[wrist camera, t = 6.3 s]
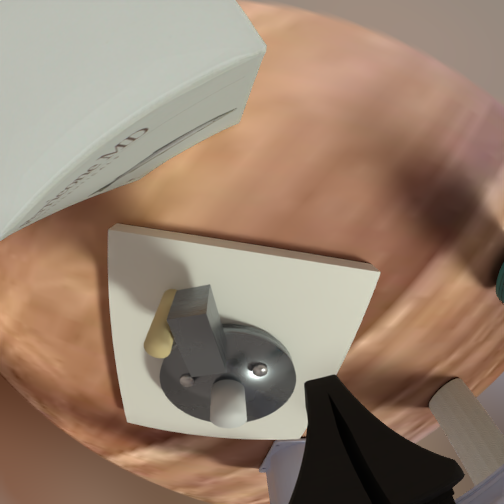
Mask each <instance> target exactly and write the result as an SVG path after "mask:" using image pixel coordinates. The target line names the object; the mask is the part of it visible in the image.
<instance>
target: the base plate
mask: <svg viewBox="0 0 504 504" xmlns="http://www.w3.org/2000/svg"><path fill="white" fill-rule="evenodd" d="M380 273H381V272H380V271H379V270H378V269H377V268H375V267H374V266H373V265H372V264H369V263H363V262H357V261H351V260H345V259H339V258H333V257H327V256H321V255H315V254H309V253H303V252H297V251H291V250H285V249H279V248H273V247H266V246H260V245H254V244H248V243H242V242H235V241H229V240H223V239H216V238H210V237H204V236H197V235H191V234H184V233H178V232H171V231H165V230H158V229H152V228H145V227H139V226H132V225H125V224H119V223H116V224H115V225H114V226H112V227H111V228H109V229H108V288H109V305H110V318H111V329H112V338H113V347H114V354H115V361H116V368H117V374H118V380H119V386H120V391H121V396H122V401H123V406H124V411H125V415H126V419H127V422H128V423H133V424H137V425H141V426H146V427H151V428H156V429H161V430H166V431H172V432H178V433H185V434H192V435H200V436H209V437H220V438H233V439H256V440H287V439H300V438H301V436H302V434H303V433H304V431H305V430H306V428H307V425H308V418H307V412H306V407H305V390H304V383H305V382H306V381H309V380H313V379H317V378H321V377H325V376H329V375H333V374H335V375H337V373H338V371H339V369H340V367H341V365H342V363H343V361H344V359H345V356H346V354H347V352H348V350H349V348H350V346H351V344H352V342H353V339H354V337H355V335H356V333H357V330H358V328H359V326H360V324H361V321H362V319H363V317H364V314H365V312H366V309H367V307H368V304H369V302H370V299H371V297H372V294H373V292H374V289H375V286H376V284H377V281H378V278H379V275H380ZM209 284H210V286H211V289H212V293H213V296H214V300H215V303H216V306H217V310H218V313H219V317H220V320H221V323H222V324H238V325H244V326H250V327H253V328H256V329H259V330H262V331H264V332H266V333H268V334H270V335H272V336H273V337H275V338H276V339H277V340H279V341H280V342H281V343H282V344H283V345H284V346H285V347H286V349H287V350H288V352H289V353H290V356H291V358H292V361H293V365H294V368H295V372H296V385H295V389H294V391H293V393H292V395H291V397H290V398H289V399H288V401H287V402H286V403H285V404H284V405H283V406H282V407H280V408H279V409H278V410H276V411H275V412H273V413H271V414H269V415H267V416H265V417H263V418H260V419H257V420H254V421H250V422H246V421H247V413H246V401H245V389H244V386H243V385H242V384H241V383H239V382H238V381H235V380H229V379H227V380H220V381H218V382H216V383H214V384H213V386H212V388H211V405H210V421H211V422H208V421H204V420H201V419H198V418H195V417H193V416H190V415H188V414H186V413H184V412H183V411H181V410H180V409H178V408H177V407H176V406H175V405H173V404H172V403H171V402H170V401H169V399H168V398H167V397H166V395H165V394H164V392H163V390H162V387H161V384H160V369H161V366H162V362H163V358H165V357H167V356H168V355H169V354H170V352H171V348H172V344H173V342H174V341H175V339H174V337H173V335H172V332H171V330H170V327H169V325H168V322H167V317H168V314H169V311H170V308H171V305H172V302H173V299H174V296H175V293H176V291H177V290H182V289H188V288H193V287H198V286H204V285H209Z"/></svg>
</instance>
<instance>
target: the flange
mask: <svg viewBox="0 0 504 504" xmlns="http://www.w3.org/2000/svg"><path fill="white" fill-rule="evenodd" d="M167 322H168V325H169V327H170V330H171V332H172V335H173V337H174V339H175V341H174V342H173V344H172V348H171V352H170V354H169V355H168V356H167V357H165V358H163V362H162V366H161V369H160V384H161V387H162V390H163V392H164V394H165V395H166V397H167V398H168V399H169V401H170V402H171V403H172V404H173V405H175V406H176V407H177V408H178V409H180V410H181V411H183V412H184V413H186V414H188V415H190V416H193V417H195V418H198V419H201V420H204V421H208V422H211V421H210V405H211V388H212V386H213V384H214V383H216V382H218V381H220V380H227V379H229V380H235V381H238V382H239V383H241V384H242V385H243V386H244V389H245V401H246V413H247V421H246V422H250V421H254V420H257V419H260V418H263V417H265V416H267V415H269V414H271V413H273V412H275V411H276V410H278V409H279V408H280V407H282V406H283V405H284V404H285V403H286V402H287V401H288V399H289V398H290V397H291V395H292V393H293V391H294V389H295V385H296V372H295V368H294V365H293V361H292V358H291V356H290V353H289V352H288V350H287V349H286V347H285V346H284V345H283V344H282V343H281V342H280V341H279V340H277V339H276V338H275V337H273V336H272V335H270V334H268V333H266V332H264V331H262V330H259V329H256V328H253V327H250V326H244V325H238V324H222V323H221V320H220V317H219V313H218V310H217V306H216V303H215V300H214V296H213V293H212V289H211V286H210V284H209V285H204V286H198V287H193V288H188V289H182V290H177V291H176V293H175V296H174V299H173V302H172V305H171V308H170V311H169V314H168V317H167Z"/></svg>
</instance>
